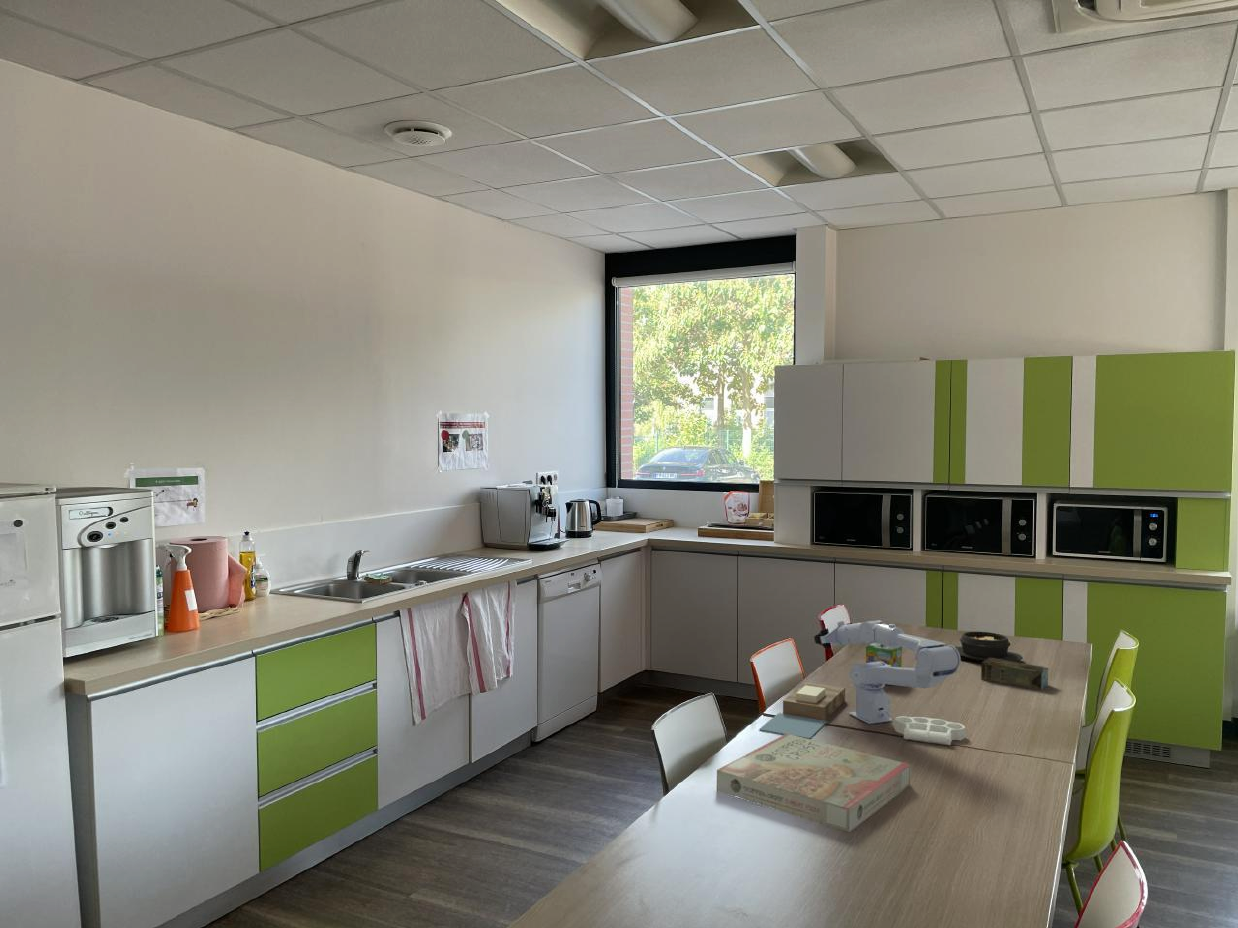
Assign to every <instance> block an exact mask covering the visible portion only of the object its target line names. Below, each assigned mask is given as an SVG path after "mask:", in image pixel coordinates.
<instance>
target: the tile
mask: <svg viewBox="0 0 1238 928" xmlns="http://www.w3.org/2000/svg"><path fill="white" fill-rule="evenodd" d="M824 696H825V688H820V687H813V686H806V685H805V686H804V687H803V688H802V689H800V690H799V691H798V692H797V693H796V700H799V701H806V702H812V703H817V702H818V701H819V700H820V699H821V698H823V697H824Z"/></svg>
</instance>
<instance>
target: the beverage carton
mask: <svg viewBox="0 0 1238 928" xmlns="http://www.w3.org/2000/svg"><path fill="white" fill-rule="evenodd" d="M980 667H981V669H980V672H981V673H980V674H981V675H980V676H981V677H980V679H981V680H985V681H989V680H990V681H991V682H994V681H995V682H996V683H1000V682H1001V683H1000V684H1005V685H1010V684H1011V685H1012V686H1016V685H1017V686H1016V687H1021V686H1023V687H1022V688H1027V687H1030V688H1029V689H1033V688H1035V689H1034V690H1039V689H1040V690H1039V691H1042V690H1044V689H1045V688H1046V687H1047V686H1049V685H1048V684H1049V671H1050V670H1049V668H1048V667H1046V666H1044V665H1043V666H1041V665H1034V664H1029V663H1025V662H1024V663H1023V662H1018V661H1008V660H1002V659H996V658H990V657H989V658H988V659H986V660H985V661H983V662H981V666H980ZM1044 687H1045V688H1044Z"/></svg>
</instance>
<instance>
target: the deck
mask: <svg viewBox="0 0 1238 928" xmlns="http://www.w3.org/2000/svg"><path fill="white" fill-rule="evenodd" d="M805 685H806V686H813V687H820V688H825V696H824V697H823V698H821V699H820V700H819V701H818V702H817V703H812V702H806V701H799V700H796V693H797V692H798V691H799V690H800V689H802V688H803V687H804V686H805ZM844 702H846V687H842V686H836V685H829V684H822V683H815V682H809V681H806V682H804V684H801V686H800V687H798V688H797V689H796V690H795V691H793V692H792V693H791V694H790V695H788V696H787V697H786V698H785V699H783V700H782V714H788V715H794V716H800V717H806V718H812V719H818V720H824V721H827V719H829V718H830V716H831V715H832V714H833V713H834V712H836V710H838V708H840V706H842V705H843V704H844Z"/></svg>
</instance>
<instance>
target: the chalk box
mask: <svg viewBox="0 0 1238 928" xmlns="http://www.w3.org/2000/svg"><path fill="white" fill-rule="evenodd" d="M902 653H903V647H902V646H900V647H899V648H891V647H888V646H885V645H882V644H879V643H876V642H871V643H869V644H868V645H866V646H865V663H872V662H877V661H882V662H884V663H885V664H887V665H891V667H902V666H903V665H902V663H903V661H902V659H903V656H902V655H903V654H902ZM902 668H903V667H902Z"/></svg>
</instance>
